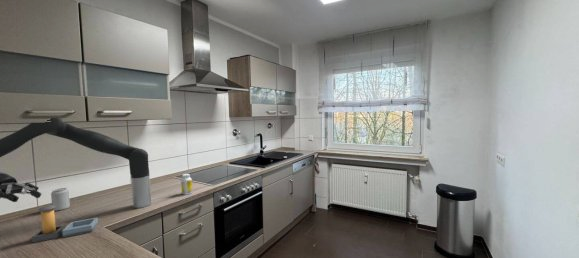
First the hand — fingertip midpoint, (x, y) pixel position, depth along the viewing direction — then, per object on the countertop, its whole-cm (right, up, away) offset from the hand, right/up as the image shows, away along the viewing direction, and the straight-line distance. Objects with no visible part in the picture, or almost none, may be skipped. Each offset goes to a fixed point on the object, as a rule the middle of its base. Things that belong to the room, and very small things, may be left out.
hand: (28, 197), depth 100 cm
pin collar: (+3, -19, +5) cm, 20 cm away
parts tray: (+13, -18, +10) cm, 25 cm away
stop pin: (+3, -19, +5) cm, 20 cm away
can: (-25, -18, +40) cm, 51 cm away
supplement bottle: (+41, -15, +61) cm, 74 cm away
